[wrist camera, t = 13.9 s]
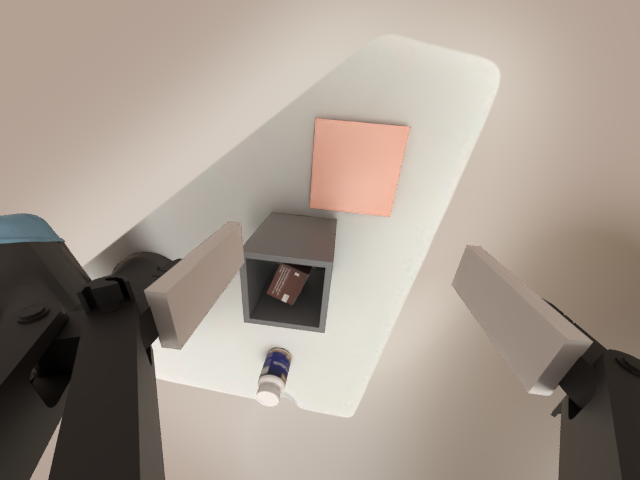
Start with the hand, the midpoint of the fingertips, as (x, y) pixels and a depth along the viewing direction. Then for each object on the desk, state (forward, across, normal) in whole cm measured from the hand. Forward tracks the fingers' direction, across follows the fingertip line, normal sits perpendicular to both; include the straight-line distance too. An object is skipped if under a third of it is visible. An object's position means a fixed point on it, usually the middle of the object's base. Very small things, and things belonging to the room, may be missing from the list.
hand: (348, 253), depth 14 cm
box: (+25, -6, -12) cm, 29 cm away
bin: (+25, -6, -12) cm, 28 cm away
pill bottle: (+25, -10, -42) cm, 50 cm away
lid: (+24, +1, +1) cm, 24 cm away
